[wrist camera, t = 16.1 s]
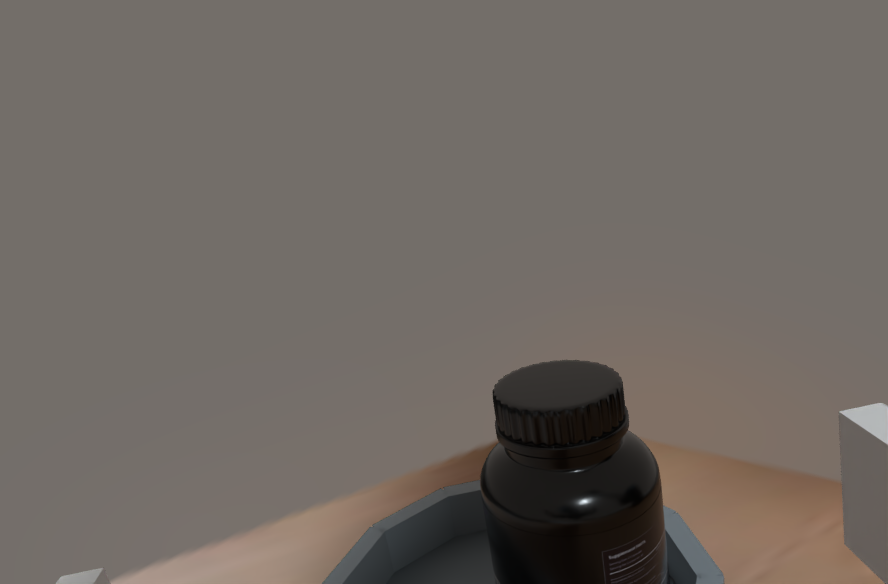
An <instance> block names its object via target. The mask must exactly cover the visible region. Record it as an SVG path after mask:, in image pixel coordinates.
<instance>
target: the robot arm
mask: <svg viewBox="0 0 888 584" xmlns="http://www.w3.org/2000/svg"><path fill="white" fill-rule="evenodd" d="M839 430H840V452H841V473H842V474H841V476H842V499H843V522H844V544H845V545H846V546H847V547H848V548H849V549H850V550H851V551H852V552H853V553H854V554H855V555H856V556H857V557H858V558H859V559H860V560H861V561H862V562H864V563H865V564H866V565H867V566H868V567H869V568H870V569H871V570H872V571H873V572H874V573H875V574H876V575H877V576H878V577H879V578H880V579H881V580H882V581H883V582H884V583H885V584H888V406H886V405H884V404H883V403H876V404H872V405H868V406H863V407H858V408H853V409H848V410H843V411H839ZM56 584H110V581H109V579H108V576H107V574H106V571H105V569H104V568H99V569H95V570H90V571H85V572H80V573H76V574H71V575H67V576H62V577H60V578H59V580H58V581H57V582H56Z"/></svg>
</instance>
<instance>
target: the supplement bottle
mask: <svg viewBox="0 0 888 584" xmlns="http://www.w3.org/2000/svg"><path fill="white" fill-rule="evenodd" d="M493 402H494V409H495V415H496V421H495V427H496V434H497V438H498V441H499V443H498V444H497V445H496V446H495V447H494V448H493V449H492V451H491V452H490V453H489V455H488V457H487V458H486V460H485V463H484V465H483V468H482V471H481V476H480V488H481V497H482V503H483V510H484V516H485V522H486V528H487V534H488V540H489V546H490V552H491V558H492V564H493V571H494V577H495V583H496V584H670V577H669V566H668V554H667V543H666V532H665V521H664V510H663V499H662V488H661V479H660V472H659V467H658V464H657V461H656V459H655V457H654V455H653V454H652V452H651V451H650V449H649V448H648V447H647V446H646V444H645V443H644V442H643V441H642V440H641V439H640V438H638V437H637V436H636V435H634V434H633V433H632V432H630V431H628V427H629V415H628V410H627V408H626V406H625V401H624V391H623V382H622V379H621V377H620V376H619V374H618V373H617V372H615V371H614V370H613V369H612V368H609V367H608V366H606V365H602V364H599V363H595V362H589V361H579V360H562V361H550V362H542V363H539V364H533V365H530V366H527V367H523V368H520V369H518V370H515V371H512V372H511V373H510V374H507V375H505V376H504V377H503V378H502V379H500V380H499V381H498V383H497V384H495V388H494V389H493Z"/></svg>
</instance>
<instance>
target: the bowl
mask: <svg viewBox="0 0 888 584" xmlns="http://www.w3.org/2000/svg"><path fill="white" fill-rule="evenodd" d="M443 488H444V490H443V489H441V488H440V489H439V490H437V491H435V492H433V493H431V494H429V495H427V496H426V497H424V498H422V499H420V500H418V501H416V502H414V503H412V504H411V505H409V506H407V507H405V508H403V509H401V510H399V511H398V512H396V513H394V514H392V515H390V516H388V517H386V518H385V519H383V520H381V521H379V522H377V523H375V524H373V525H372V526H373V527H370V528H369V529H368V530H367V531H366V532H365V533H364V535H363V536H362V537H361V538H360V539H359V541H358V542H357V543H356V544H355V545H354V546H353V548H352V549H351V550H350V551H349V552H348V553H347V555H346V556H345V557H344V558H343V559H342V561H341V562H340V563H339V564H338V565H337V566H336V568H335V569H334V570H333V571H332V572H331V573H330V575H329V576H328V577H327V578H326V579H325V581H324V582H323V583H322V584H496V583H495V577H494V571H493V564H492V558H491V552H490V546H489V540H488V534H487V528H486V522H485V516H484V510H483V503H482V497H481V488H480V480H477V481H472V482H467V483H462V484H457V485H452V486H448V487H443ZM663 510H664V521H665V532H666V543H667V554H668V566H669V577H670V584H725V583H724V576H723V573H722V572H721V570H720V569H719V568H718V566H717V565H716V564H715V562H714V561H713V560H712V558H711V557H710V556H709V554H708V553H707V552H706V550H705V549H704V547H703V546H702V545H701V543H700V542H699V541H698V539H697V538H696V537H695V535H694V534H693V533H692V531H691V530H690V529H689V527H688V526H687V525H686V523H685V522H684V521H683V519H682V518H681V517H680V515H679V514H678V513H676V511H674V510H672V509H670V508H668V507H665V506H663Z"/></svg>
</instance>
